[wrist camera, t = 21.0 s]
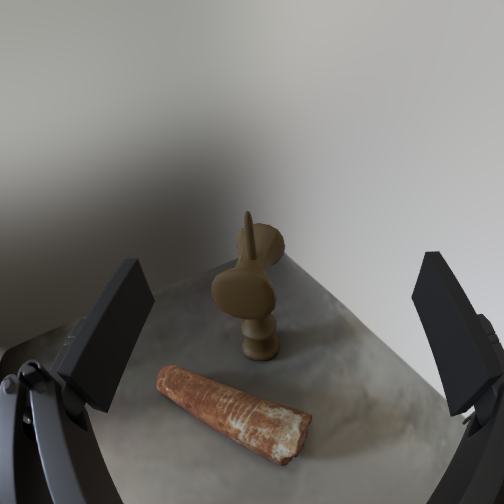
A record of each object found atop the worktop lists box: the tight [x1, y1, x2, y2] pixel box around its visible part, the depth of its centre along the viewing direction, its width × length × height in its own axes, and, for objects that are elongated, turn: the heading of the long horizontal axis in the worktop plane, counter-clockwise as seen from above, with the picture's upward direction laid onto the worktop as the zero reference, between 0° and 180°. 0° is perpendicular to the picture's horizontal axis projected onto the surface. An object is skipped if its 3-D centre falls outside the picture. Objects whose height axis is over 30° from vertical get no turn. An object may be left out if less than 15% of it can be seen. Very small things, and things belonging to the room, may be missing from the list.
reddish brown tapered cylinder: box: [156, 365, 312, 466], centre depth 27 cm, size 6×19×6 cm, turn 58°
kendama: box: [212, 211, 285, 361], centre depth 31 cm, size 6×10×20 cm, turn 168°
